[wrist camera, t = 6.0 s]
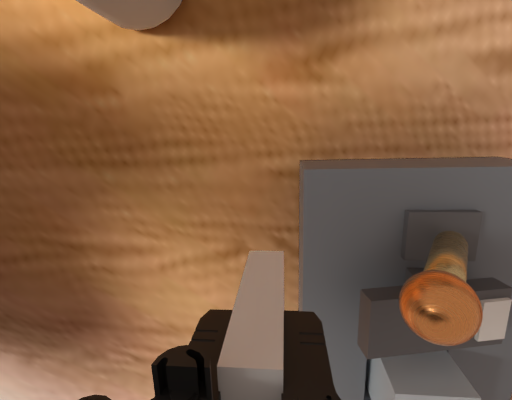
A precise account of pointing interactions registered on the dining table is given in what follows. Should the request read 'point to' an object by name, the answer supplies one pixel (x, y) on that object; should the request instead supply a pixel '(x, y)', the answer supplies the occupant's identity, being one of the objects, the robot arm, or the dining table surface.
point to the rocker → (407, 342)
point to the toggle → (442, 295)
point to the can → (134, 11)
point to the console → (400, 248)
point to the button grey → (418, 378)
